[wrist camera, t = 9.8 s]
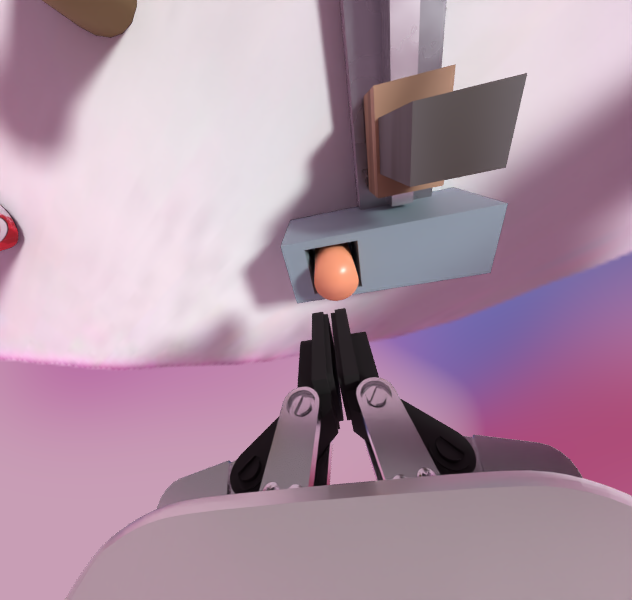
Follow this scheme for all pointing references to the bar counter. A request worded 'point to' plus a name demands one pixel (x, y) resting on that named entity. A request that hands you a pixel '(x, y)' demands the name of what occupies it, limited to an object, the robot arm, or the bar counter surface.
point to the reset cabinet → (400, 241)
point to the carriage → (437, 130)
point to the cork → (97, 14)
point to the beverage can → (7, 230)
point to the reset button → (335, 272)
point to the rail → (370, 73)
